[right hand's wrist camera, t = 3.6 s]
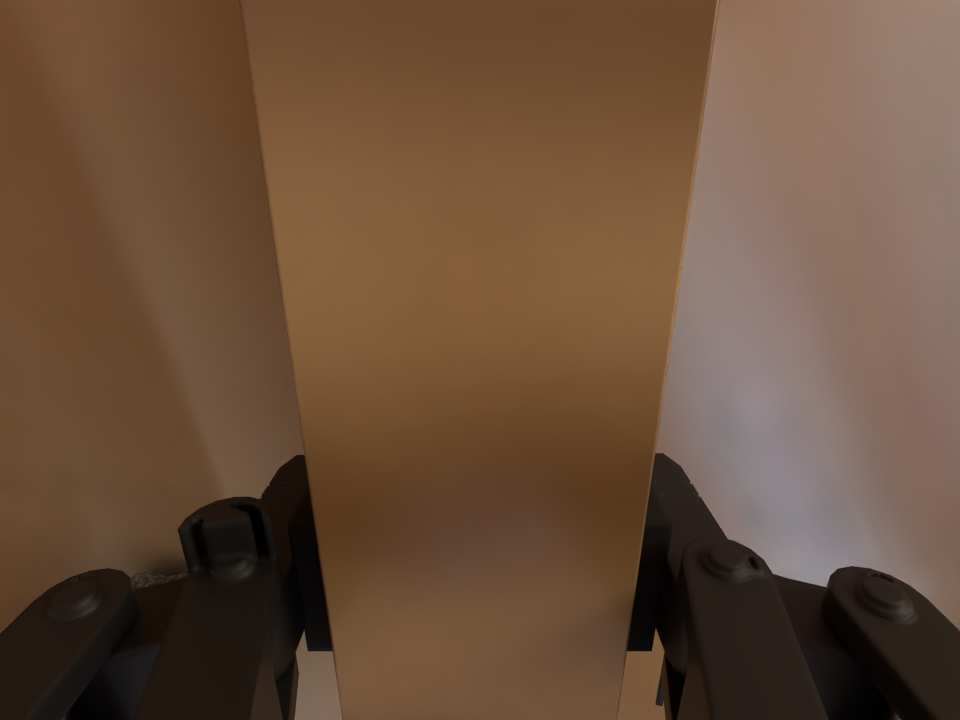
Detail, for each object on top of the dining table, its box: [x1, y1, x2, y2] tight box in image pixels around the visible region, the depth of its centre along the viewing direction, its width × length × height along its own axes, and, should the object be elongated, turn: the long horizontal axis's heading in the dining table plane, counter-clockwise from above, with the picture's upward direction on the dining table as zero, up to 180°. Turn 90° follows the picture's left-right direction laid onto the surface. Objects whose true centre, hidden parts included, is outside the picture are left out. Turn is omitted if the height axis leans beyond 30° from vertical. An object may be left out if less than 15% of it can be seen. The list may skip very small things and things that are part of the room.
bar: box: [240, 0, 720, 720], centre depth 9 cm, size 24×4×8 cm, turn 0°
